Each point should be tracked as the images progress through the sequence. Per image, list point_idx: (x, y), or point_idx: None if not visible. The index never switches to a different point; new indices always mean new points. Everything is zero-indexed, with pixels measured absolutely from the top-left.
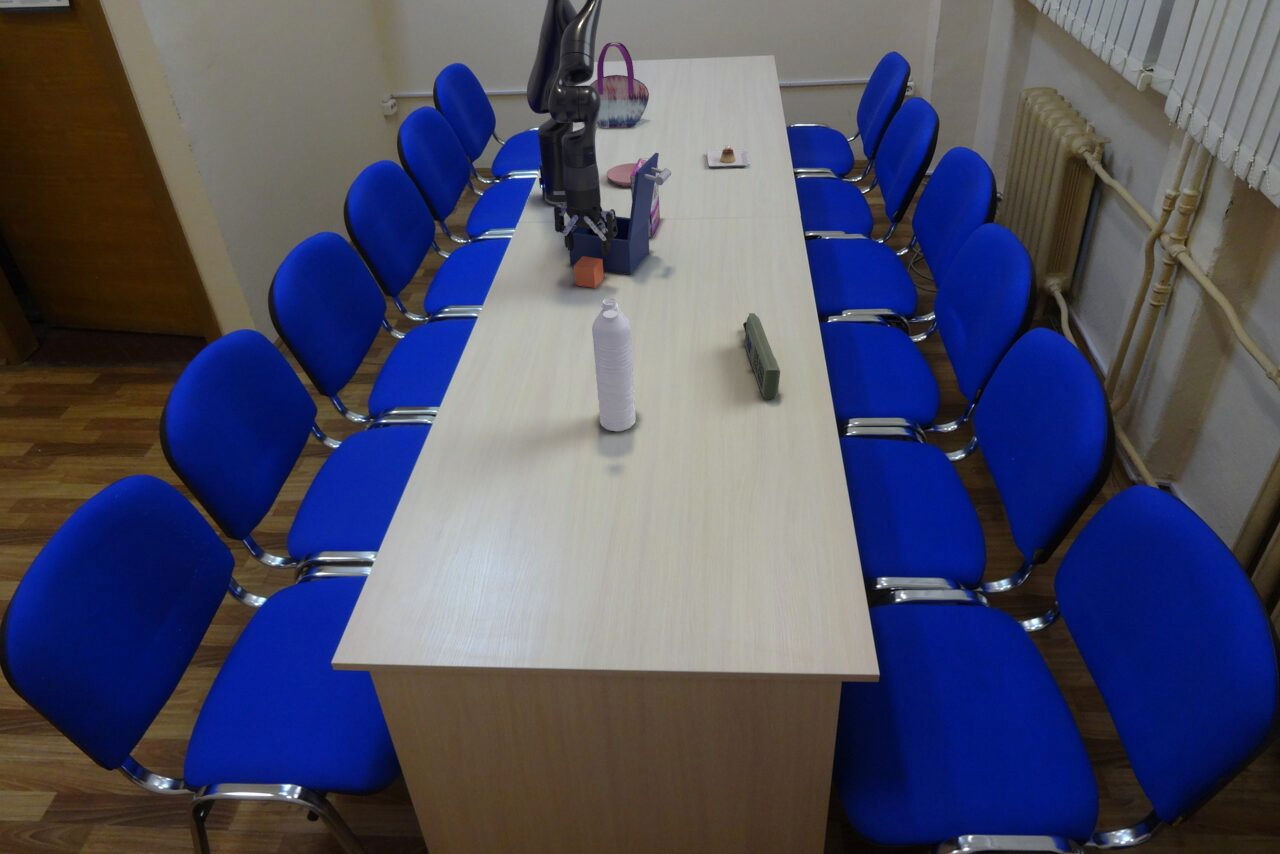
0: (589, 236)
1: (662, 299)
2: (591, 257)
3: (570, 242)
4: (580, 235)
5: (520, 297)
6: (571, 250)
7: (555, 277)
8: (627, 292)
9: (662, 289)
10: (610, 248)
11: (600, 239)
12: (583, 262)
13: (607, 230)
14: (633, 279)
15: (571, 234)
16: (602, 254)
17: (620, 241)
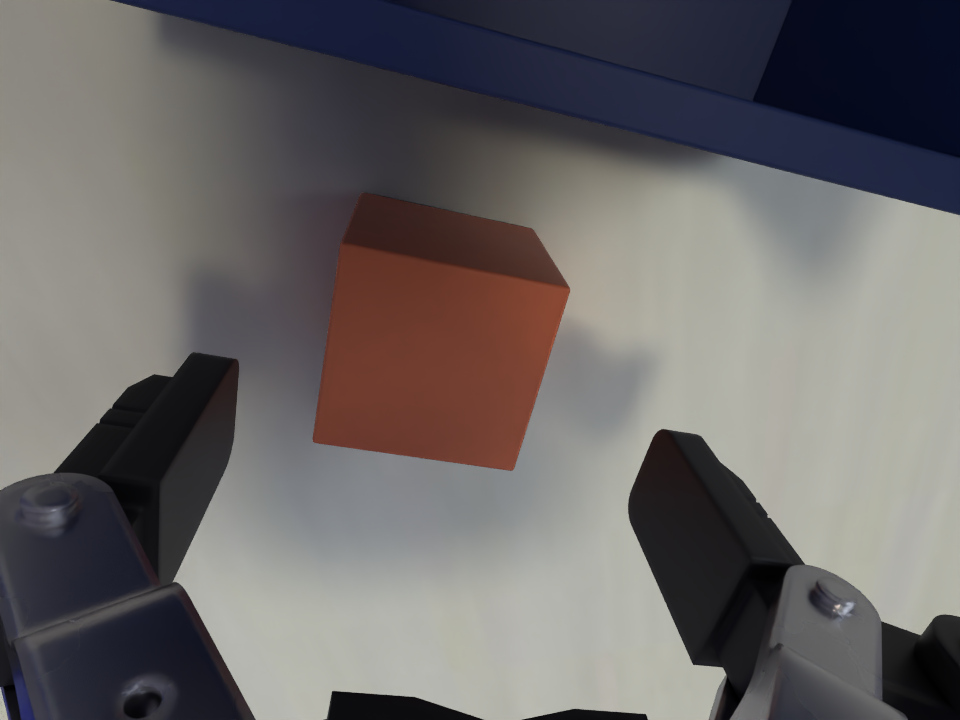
0: (378, 63)
1: (917, 451)
2: (448, 269)
3: (199, 501)
4: (199, 22)
5: None
6: (234, 426)
7: (122, 247)
8: (714, 401)
9: (944, 342)
10: (744, 484)
11: (568, 115)
12: (390, 379)
13: (872, 669)
14: (763, 223)
15: (162, 526)
16: (635, 520)
17: (870, 192)
